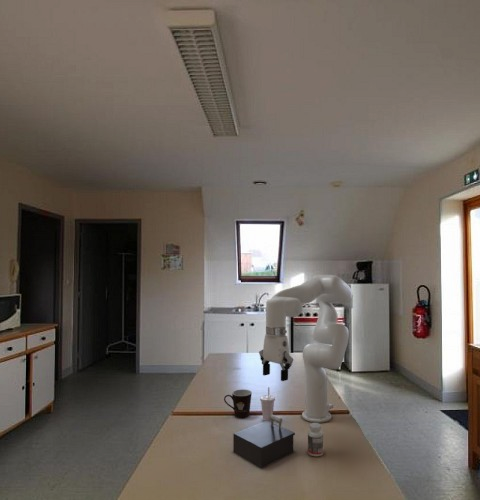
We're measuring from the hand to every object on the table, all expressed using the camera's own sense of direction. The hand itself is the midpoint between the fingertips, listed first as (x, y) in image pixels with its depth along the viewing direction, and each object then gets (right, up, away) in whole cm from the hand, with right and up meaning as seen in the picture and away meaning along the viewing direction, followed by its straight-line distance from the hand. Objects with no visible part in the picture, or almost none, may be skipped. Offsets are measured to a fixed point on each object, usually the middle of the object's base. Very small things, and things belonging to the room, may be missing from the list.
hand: (275, 377), depth 143 cm
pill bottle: (+14, -24, -8) cm, 29 cm away
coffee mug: (-15, -25, +26) cm, 39 cm away
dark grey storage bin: (-4, -24, -8) cm, 26 cm away
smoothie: (-3, -25, +20) cm, 32 cm away
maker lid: (-4, -18, -7) cm, 20 cm away
